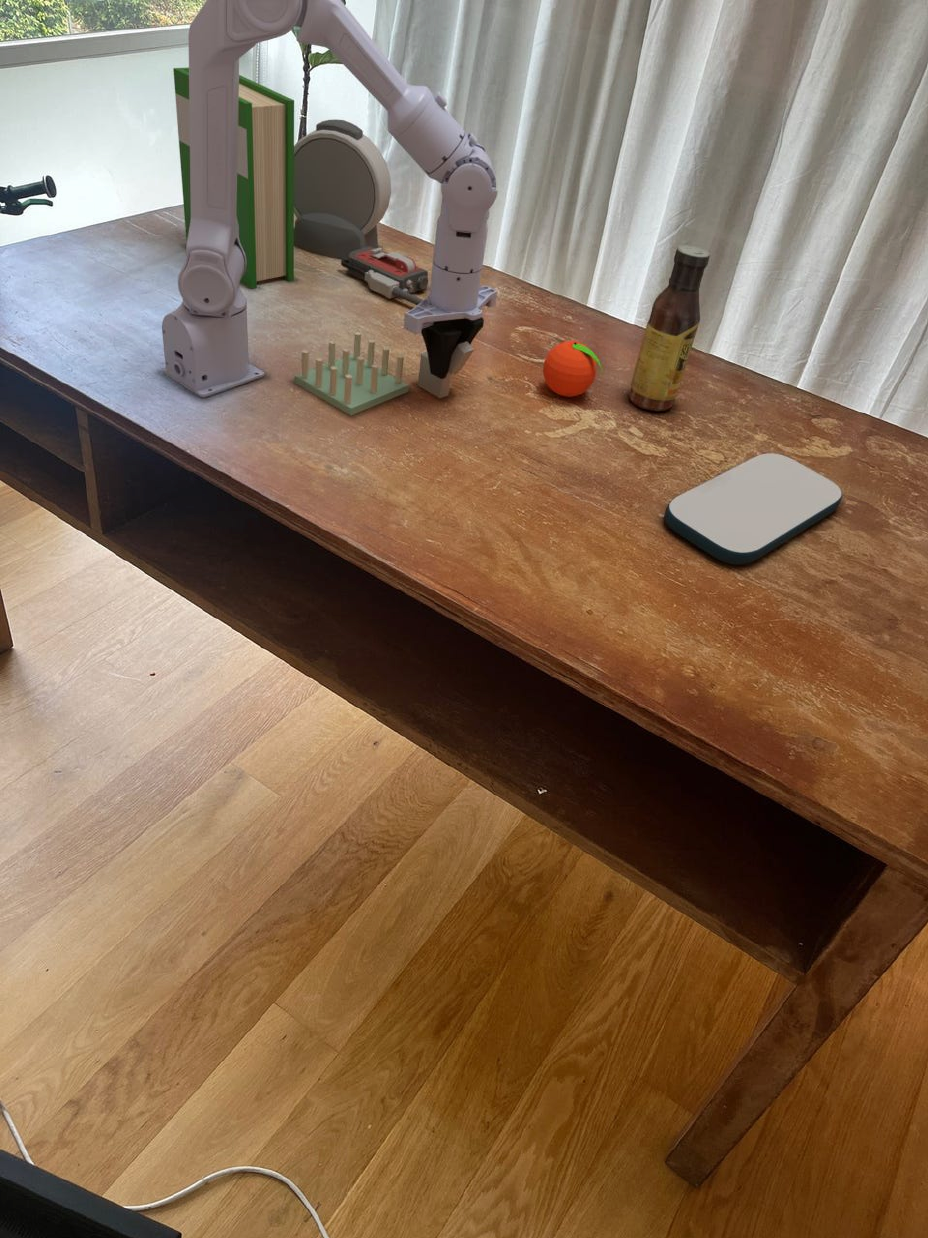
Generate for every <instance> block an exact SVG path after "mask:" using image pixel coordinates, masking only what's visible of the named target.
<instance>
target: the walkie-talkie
mask: <svg viewBox="0 0 928 1238" xmlns="http://www.w3.org/2000/svg"><path fill="white" fill-rule="evenodd" d="M340 265H341V266H342V267H343V268H346V269H347V271H348V274H349V275H350V276H353V277H355V278H357V279H359V280H362V281H364V282H366V283H367V285H368V288H369V289H370V290H371V291H373V292H376V293H378V294H380V295H382V296H384V297H385V298H387V299H389V300H390V299H393V298H398V299H402V300H405V301H407V302H408V303H411V304H413V305H415V306H417V305H418V304H419V303H421V302H422V301H423V300H424V299H422V298H420V297H418V296H415V295H413V294H414V293H416V292H419V291H424V290H425V289H426V288H428V285H429V275H428V274H429V271H428V270H426V269H425V268H423V267H419V266H417V263H416V262H415V261H414V259H413V258H411V257H408V256H405V255H404V254H402V253H400V252H397V251H392V252H388V253H387V252H386V251H383V248H382V247H378V248H377V249H376V248H373V247H371V246H369V247H366V248H362V249H359V250H355V251H352V252H350V254H349V259H340Z"/></svg>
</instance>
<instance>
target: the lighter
mask: <svg viewBox="0 0 928 1238" xmlns="http://www.w3.org/2000/svg"><path fill="white" fill-rule="evenodd" d="M474 351H475V349H474V348H473V346H472V345H471V344H469V343H468V342H467V341H466V342H464V343H461V344H459V345H458V346H457V347H456V349H455V350H454V352H453V354H452V356H451V360H450V365H449V369H448V373H447V376H446V378H444V379H440V378H438V377H436V376H434V375H432V374H431V373H430V366H429V359H428V354H427V351H424V352H422V353H420V360H419V361H420V362H419V370H418V380H417V386H418V387H419V388H421V389H423V390H425V391H426V392H428V393H430V394H432V395H434V396H435V397H436V398H438V399H442V398H445V397H447V396H449V395H450V394H449V393H450V387H451V379H452V375H456V374H458V373H460V372H461V370H462V369H463V368H464V366H465V365H466V363H467V362H468V360H469V359H470V357H471V355H472V354H473V353H474ZM457 372H458V373H457ZM455 373H456V374H455Z"/></svg>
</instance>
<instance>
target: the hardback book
mask: <svg viewBox="0 0 928 1238" xmlns="http://www.w3.org/2000/svg"><path fill="white" fill-rule="evenodd" d="M172 71H173V82H174V83H173V85H174V96H175V109H176V123H177V137H178V149H179V150H178V151H179V159H180V160H179V163H180V177H181V187H182V188H181V189H182V190H181V191H182V200H183V201H182V202H183V211H184V212H183V214H184V227H185V228H184V229H185V243H187V239H188V233H189V227H190V221H191V193H190V115H189V67H173V70H172ZM294 146H295V99H292V98H290V97H288V96H287V95H286V96H285V95H283V94H281V93H279V92H277V91H275V90H273V89H270V88H269V87H267V86H264V85H262V84H260V83H259V82H256V81H253V80H252V79H250V78H247V77H245V76H243V75H240V74H239V102H238V153H237V205H236V216H237V220H238V225H239V240H240V244H241V246H242V248H243V250H244V252H245V256H246V261H247V262H246V270H245V272H244V275H243V276H242V277H241V280H240V282H239V283H242V284H243V285H245V286H246V288H248V289H250V290H253V289H257V288H258V287H257V286H258V285H257V282H260V281H264V280H269V279H274V278H279V277H281V278H282V279H284V280H286V281H287V282H293V281H294V280H295V277H294V276H295V245H294V226H295V214H294Z"/></svg>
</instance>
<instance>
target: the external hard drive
mask: <svg viewBox="0 0 928 1238" xmlns="http://www.w3.org/2000/svg"><path fill="white" fill-rule="evenodd" d="M842 498H843V490H842V489H841V487H840V486H839V485H838V484H836V483H835V482H834V481H832V480H831V479H829V478H828V477H826V476H824V475H822V474H820V473H818V472H817V471H815V470H814V469H811V467H808V466H806V465H804V464H803V463H801V462H799V461H797V460H795V459H794V458H791V457H790V456H786V455H784V454H780V453H774V452H765V453H761V454H757V455H755V456H752V457H751V458H749V459H747V460H745V461H743V462H741V463H739V464H737V465H735V466H733V467H731V468H729V469H728V470H727V469H726V471H723V472H721V473H720V474H718V475H715V476H714V477H711V478H709V479H708V480H705V481H704V482H702V483H700V484H698V485H696V486H694V487H691V488H690V489H688V490H686V491H684V492H682V493H680V494H678V495H677V496H674V498H672V499H671V500H670V501H669V502H668V504H667V505H666V508H665V510H664V516H663V517H664V518H663V519H664V522H665V523H666V526H667V527H669V528H670V529H671V530H672V531H673V532H675V534H677V535H679V536H681V537H682V538H683V539H685V540H687V541H688V542H690V543H691V544H692V545H694V546H696V547H697V548H699V549H700V550H702V551H703V552H705V553H706V554H708V555H710V556H711V557H713V558H715V559H717V560H718V561H721V562H723V563H726V564H730V565H735V566H736V565H738V566H739V565H747V564H750V563H753V562H755V561H757V560H759V559H760V558H762V557H764V556H765V555H766V554H768V553H769V552H772V551H774V550H775V549H777V548H778V547H779V546H781V545H783V544H785V543H786V542H787V541H789V540H791V539H792V538H794V537H795V536H797V535H799V534H800V533H802V532H803V531H805V530H806V529H808V528H810V527H811V526H812V525H815V524H816V523H818V522H819V521H821V520H823V519H824V518H826V517H827V516H829V515H831V514H832V513H833V512H835V511H836V509H837V508H838V507H839V505H840V504H841V501H842Z"/></svg>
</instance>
